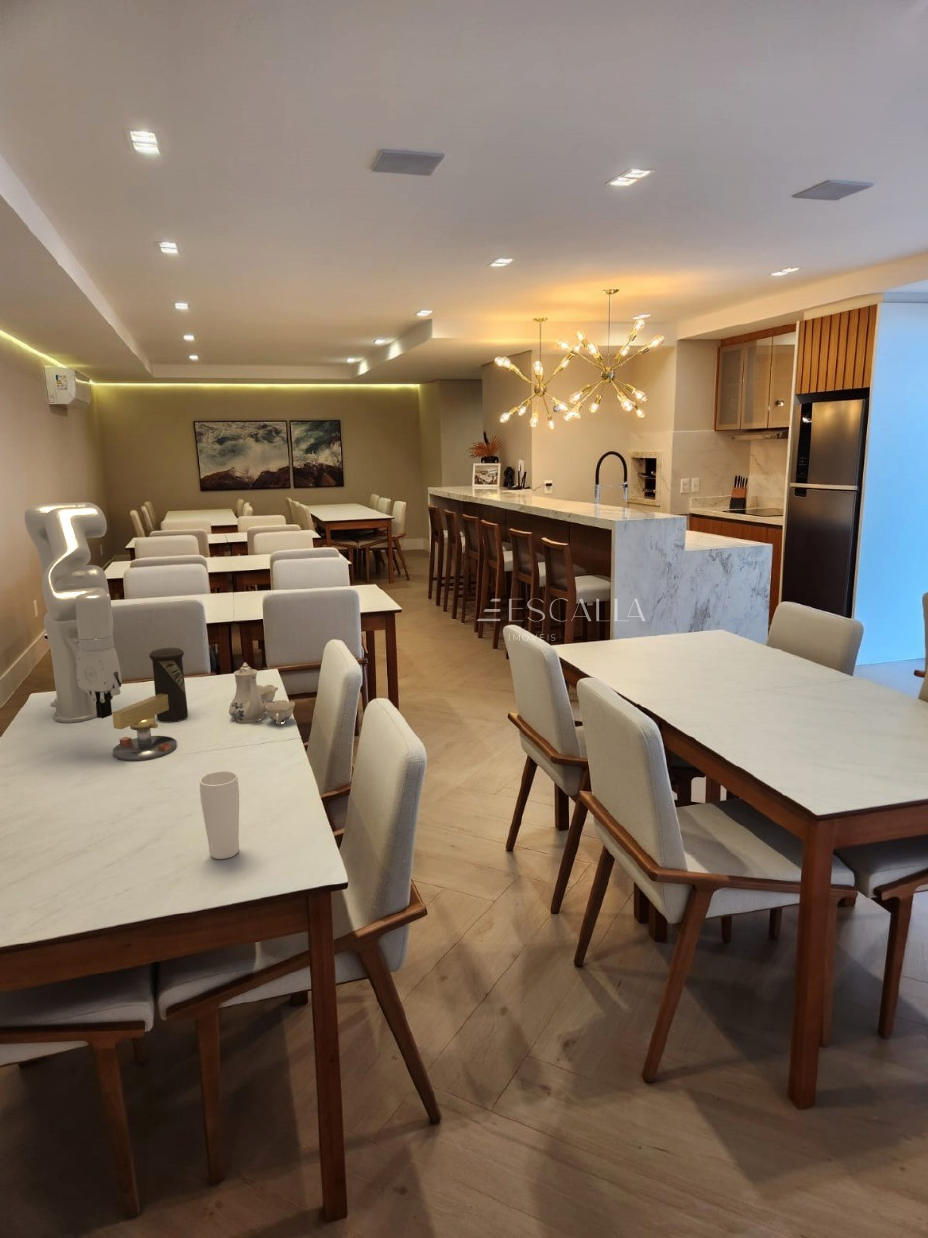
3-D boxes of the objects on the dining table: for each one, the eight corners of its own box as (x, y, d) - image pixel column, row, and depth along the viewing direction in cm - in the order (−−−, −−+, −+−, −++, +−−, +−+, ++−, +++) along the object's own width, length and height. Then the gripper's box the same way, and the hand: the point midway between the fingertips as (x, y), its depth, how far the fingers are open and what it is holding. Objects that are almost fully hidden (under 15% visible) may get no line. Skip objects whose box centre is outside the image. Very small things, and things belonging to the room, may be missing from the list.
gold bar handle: (105, 734, 193) (102, 711, 192) (152, 714, 208) (150, 692, 207) (132, 739, 190) (129, 715, 189) (179, 718, 205) (177, 695, 203)
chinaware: (305, 729, 218) (308, 670, 216) (246, 736, 209) (248, 674, 206) (268, 704, 241) (270, 650, 239) (213, 709, 232) (214, 653, 229)
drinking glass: (210, 845, 151) (203, 771, 148) (246, 843, 152) (241, 770, 149) (201, 863, 145) (195, 786, 141) (239, 861, 145) (233, 784, 142)
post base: (99, 756, 196) (96, 733, 195) (144, 736, 210) (142, 714, 209) (146, 764, 191) (144, 741, 189) (189, 743, 204) (187, 721, 203)
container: (178, 724, 219) (172, 653, 215) (149, 722, 221) (142, 652, 217) (195, 714, 228) (189, 646, 223) (166, 712, 229) (160, 644, 225)
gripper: (60, 645, 191) (69, 717, 195) (108, 649, 186) (116, 724, 189) (85, 638, 198) (93, 708, 202) (132, 642, 192) (139, 715, 196)
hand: (104, 716), depth 195 cm, fingers closed
